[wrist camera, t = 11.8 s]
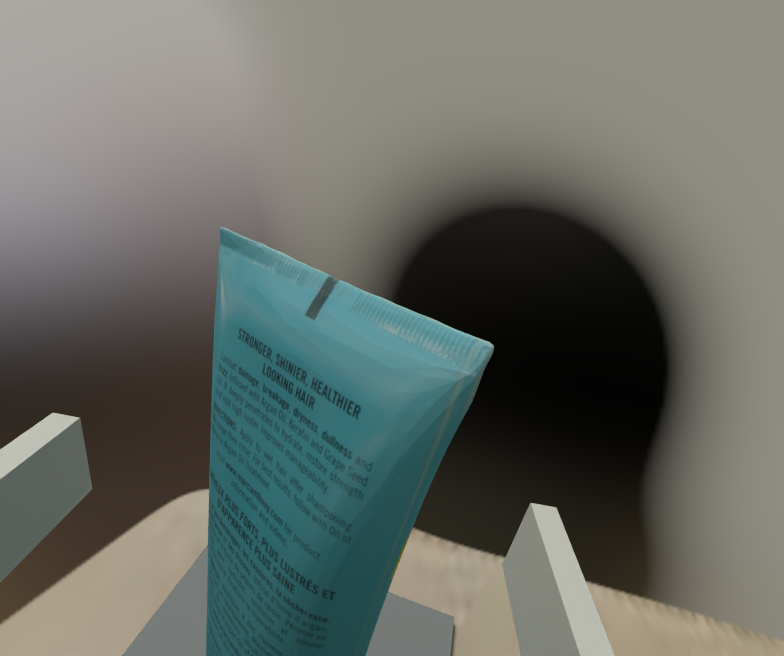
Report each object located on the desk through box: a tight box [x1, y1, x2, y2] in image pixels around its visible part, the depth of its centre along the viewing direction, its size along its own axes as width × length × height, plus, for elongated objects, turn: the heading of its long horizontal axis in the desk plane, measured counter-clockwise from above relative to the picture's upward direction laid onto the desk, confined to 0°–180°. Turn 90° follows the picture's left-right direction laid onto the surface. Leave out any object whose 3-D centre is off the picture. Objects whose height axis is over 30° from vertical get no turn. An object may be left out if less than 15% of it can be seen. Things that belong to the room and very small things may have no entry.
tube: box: [206, 227, 494, 656], centre depth 12 cm, size 7×5×19 cm, turn 58°
